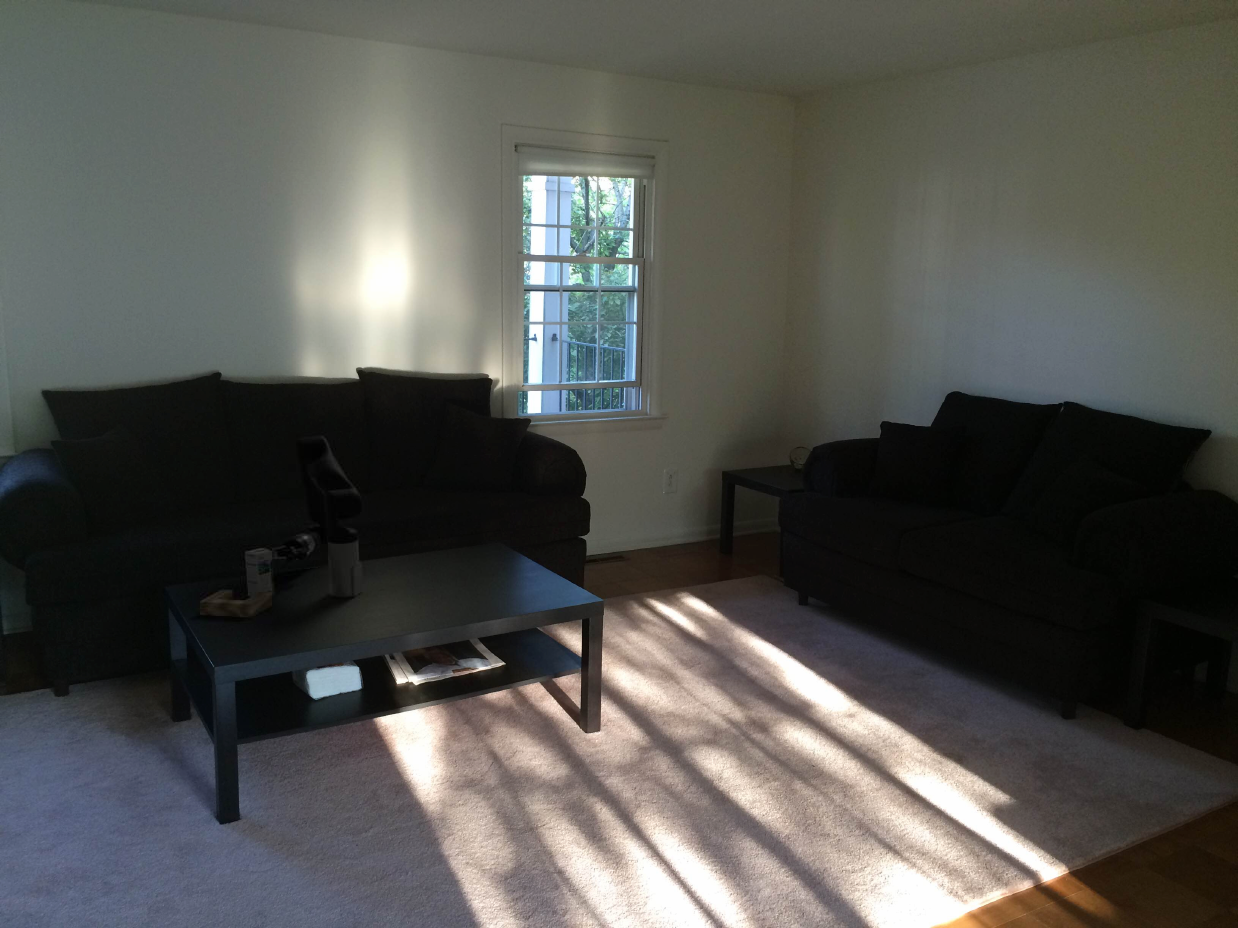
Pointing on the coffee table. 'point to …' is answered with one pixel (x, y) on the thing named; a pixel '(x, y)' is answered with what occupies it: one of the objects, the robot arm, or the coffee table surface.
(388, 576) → the coffee table surface
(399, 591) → the coffee table surface
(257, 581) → the syrup box
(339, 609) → the coffee table surface
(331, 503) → the robot arm
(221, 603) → the cradle
